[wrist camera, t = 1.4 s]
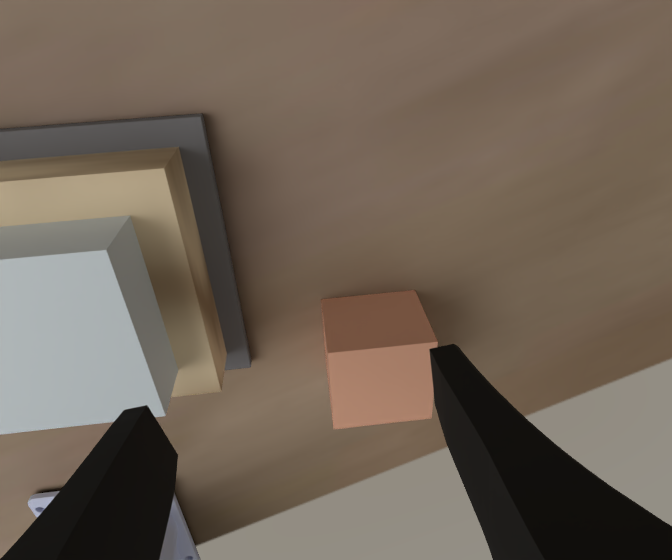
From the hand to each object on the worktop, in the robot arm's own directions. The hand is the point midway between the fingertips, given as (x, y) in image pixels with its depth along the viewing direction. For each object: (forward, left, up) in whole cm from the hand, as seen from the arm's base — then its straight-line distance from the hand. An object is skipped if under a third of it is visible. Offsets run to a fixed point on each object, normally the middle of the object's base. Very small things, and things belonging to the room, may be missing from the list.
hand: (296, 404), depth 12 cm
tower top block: (-1, +9, -7) cm, 11 cm away
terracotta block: (-6, -3, -10) cm, 12 cm away
